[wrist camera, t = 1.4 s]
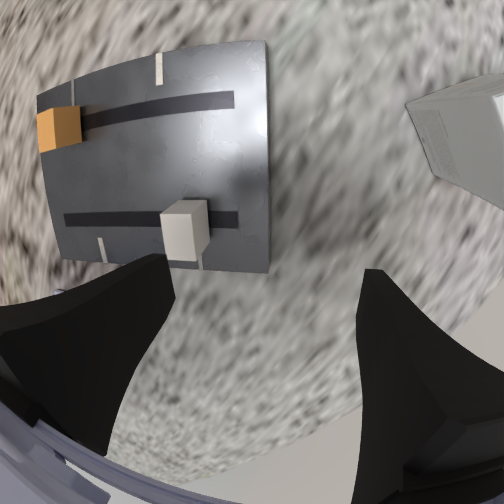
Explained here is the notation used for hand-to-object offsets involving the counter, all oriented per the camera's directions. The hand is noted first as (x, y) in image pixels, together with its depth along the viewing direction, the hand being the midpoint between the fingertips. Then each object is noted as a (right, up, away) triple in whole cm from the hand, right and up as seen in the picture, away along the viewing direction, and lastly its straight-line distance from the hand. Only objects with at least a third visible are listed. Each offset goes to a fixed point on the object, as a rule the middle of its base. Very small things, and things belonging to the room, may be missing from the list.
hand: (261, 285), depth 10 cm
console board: (-9, +8, +10) cm, 16 cm away
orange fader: (-14, +11, +8) cm, 20 cm away
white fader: (-4, +3, +9) cm, 11 cm away
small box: (+15, +11, +5) cm, 19 cm away
